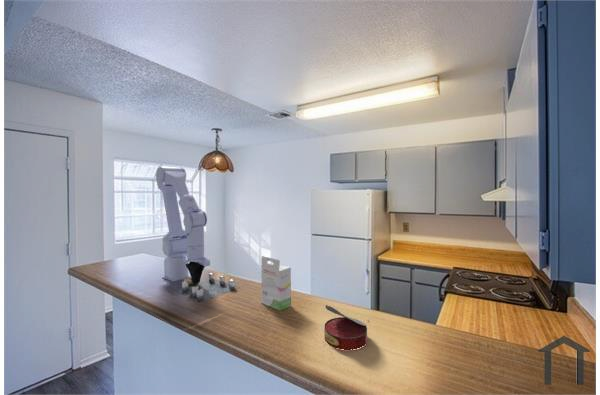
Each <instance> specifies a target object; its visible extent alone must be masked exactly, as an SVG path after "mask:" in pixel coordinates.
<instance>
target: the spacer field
mask: <svg viewBox="0 0 600 395" xmlns="http://www.w3.org/2000/svg"><path fill="white" fill-rule="evenodd" d="M238 289H241V287H240V286H237V285H236V280H235V279H234V278H231V279H229V280H228V282H226V275H220V276H219V280H218V279H216V278H215V273H214V272H209V273H208V280H206V281H204V282H201V283H200V282H199V283H196V284H192V285H188V281H184V280H183V281H182V282H181V288H180V289H177V290H174V292H175V293H177V294H180V295H182V296H184V297H186V298H189V299H191V300H194V301H196V302H198V303H201V302H204V301H207V300H210V299H212V298H215V297H218V296H222V295H224V294H227V293H229V292H232V291H235V290H238Z"/></svg>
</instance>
